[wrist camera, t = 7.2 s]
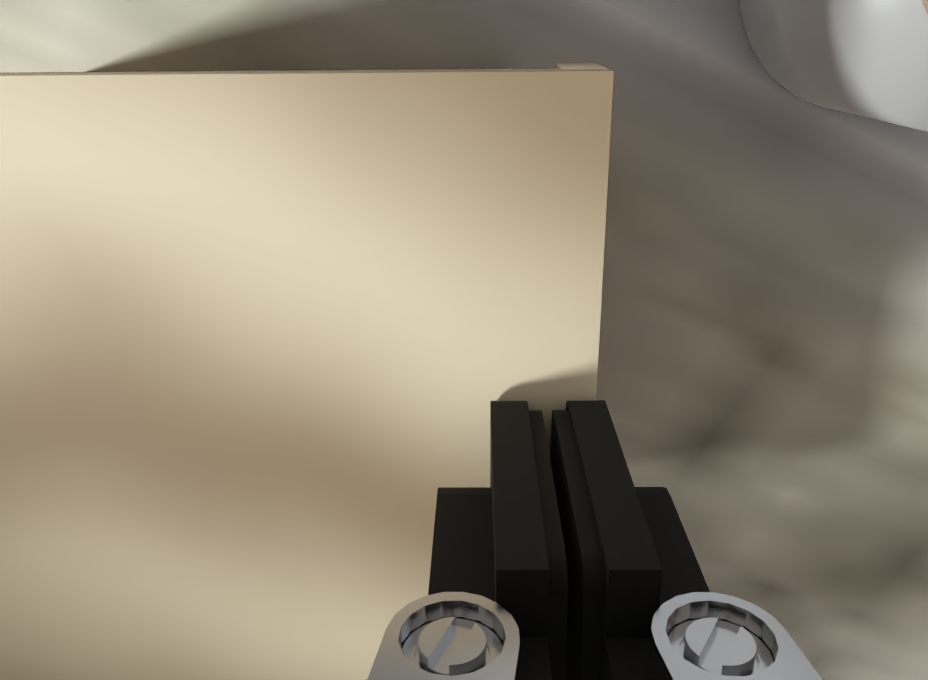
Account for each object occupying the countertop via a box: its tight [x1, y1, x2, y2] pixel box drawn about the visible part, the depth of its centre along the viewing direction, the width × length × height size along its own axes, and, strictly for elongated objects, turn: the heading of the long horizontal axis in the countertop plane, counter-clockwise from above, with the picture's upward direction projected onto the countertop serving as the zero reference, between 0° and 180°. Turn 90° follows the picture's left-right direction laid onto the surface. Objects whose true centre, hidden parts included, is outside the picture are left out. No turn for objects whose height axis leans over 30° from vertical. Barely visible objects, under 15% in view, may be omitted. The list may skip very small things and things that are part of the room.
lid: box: [0, 63, 614, 680], centre depth 13 cm, size 12×11×2 cm
